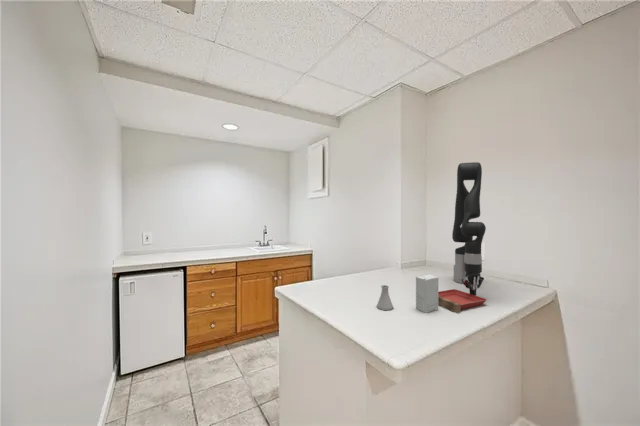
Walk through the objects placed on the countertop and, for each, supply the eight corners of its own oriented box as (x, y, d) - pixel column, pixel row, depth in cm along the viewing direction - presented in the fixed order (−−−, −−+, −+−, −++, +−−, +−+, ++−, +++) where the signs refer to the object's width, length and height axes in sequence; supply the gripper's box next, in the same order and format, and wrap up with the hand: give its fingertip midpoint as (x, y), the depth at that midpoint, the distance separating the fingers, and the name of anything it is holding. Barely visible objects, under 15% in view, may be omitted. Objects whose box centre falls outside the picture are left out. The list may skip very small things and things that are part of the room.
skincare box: (428, 305, 124) (428, 273, 124) (439, 310, 119) (439, 276, 119) (415, 308, 121) (414, 275, 121) (425, 313, 115) (425, 279, 115)
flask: (384, 312, 118) (384, 289, 117) (373, 306, 124) (373, 285, 124) (396, 309, 121) (396, 287, 121) (385, 304, 127) (385, 283, 127)
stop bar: (422, 298, 134) (422, 291, 134) (426, 298, 135) (426, 290, 135) (456, 313, 116) (456, 304, 116) (460, 312, 117) (460, 303, 117)
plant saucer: (454, 294, 141) (454, 288, 141) (487, 306, 125) (487, 298, 125) (428, 299, 134) (428, 293, 134) (460, 312, 117) (460, 304, 117)
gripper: (475, 259, 139) (475, 292, 139) (456, 261, 134) (456, 296, 134) (489, 262, 132) (489, 297, 132) (470, 264, 127) (470, 301, 127)
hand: (472, 296), depth 133 cm, fingers closed
